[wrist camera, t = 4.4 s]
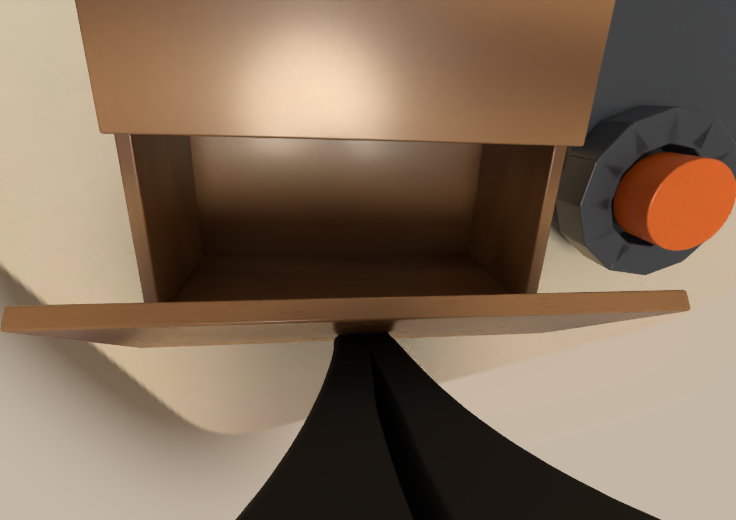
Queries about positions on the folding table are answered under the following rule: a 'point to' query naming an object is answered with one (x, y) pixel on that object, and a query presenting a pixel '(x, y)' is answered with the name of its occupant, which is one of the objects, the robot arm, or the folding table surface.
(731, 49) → the control box
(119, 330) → the flap
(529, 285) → the carton
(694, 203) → the button
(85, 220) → the folding table surface
